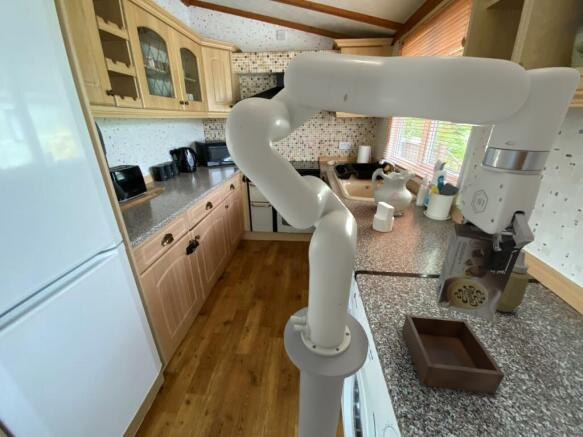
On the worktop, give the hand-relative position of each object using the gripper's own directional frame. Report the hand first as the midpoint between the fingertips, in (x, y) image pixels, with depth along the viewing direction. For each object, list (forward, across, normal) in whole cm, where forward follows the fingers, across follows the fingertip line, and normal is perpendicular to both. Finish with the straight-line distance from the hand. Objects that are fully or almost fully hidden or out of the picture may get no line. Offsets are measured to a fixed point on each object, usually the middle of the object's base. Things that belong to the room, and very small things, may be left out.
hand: (477, 255), depth 45 cm
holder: (+26, +1, 0) cm, 26 cm away
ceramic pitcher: (+27, -92, +10) cm, 96 cm away
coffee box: (+12, 0, 0) cm, 12 cm away
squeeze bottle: (+27, -19, +24) cm, 40 cm away
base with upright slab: (+27, -69, +2) cm, 74 cm away
